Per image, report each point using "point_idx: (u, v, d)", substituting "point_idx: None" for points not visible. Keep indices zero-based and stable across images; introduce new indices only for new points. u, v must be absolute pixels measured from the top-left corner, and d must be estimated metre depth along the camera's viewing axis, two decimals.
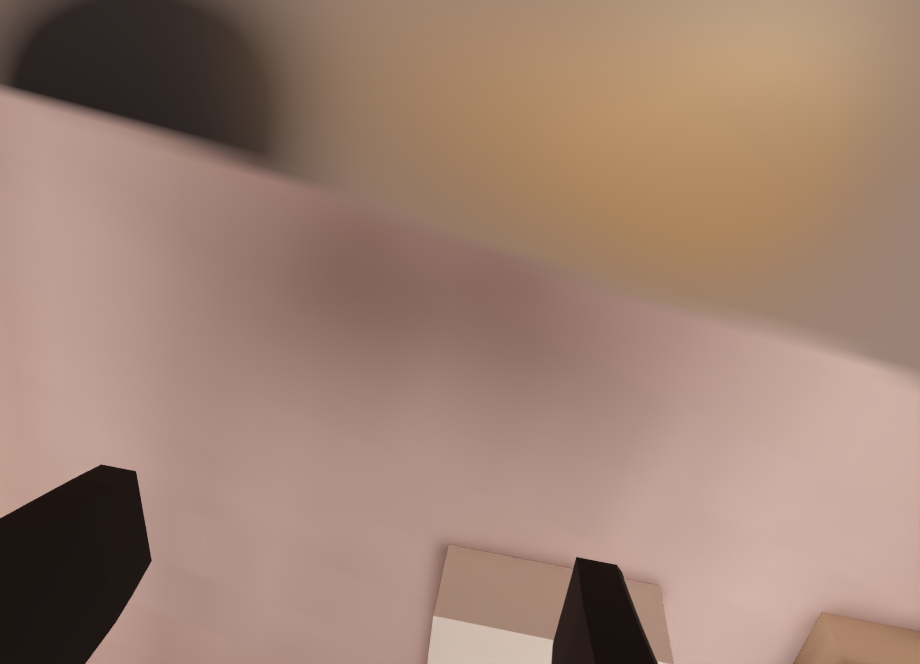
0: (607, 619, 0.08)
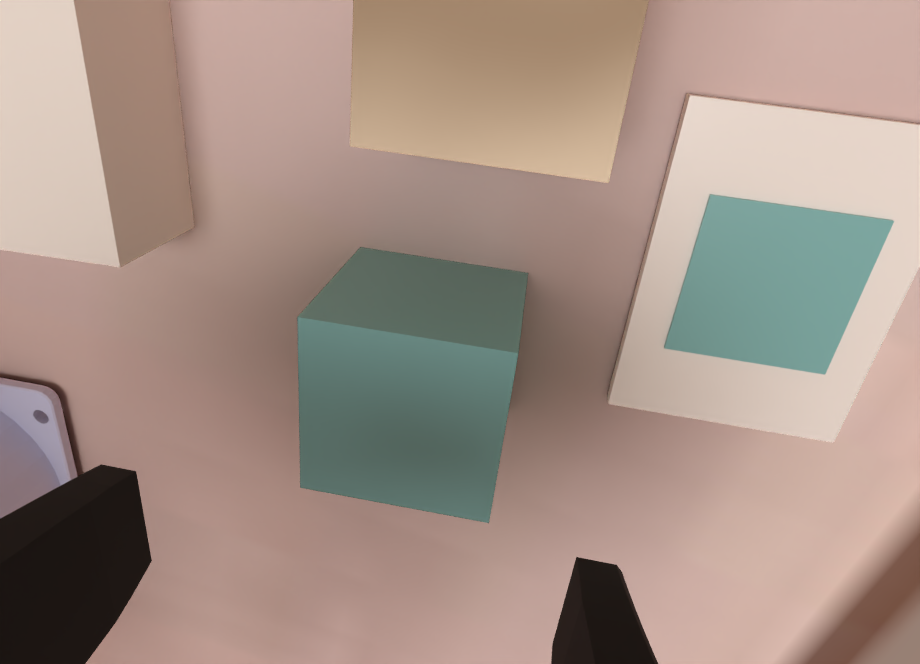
0: (607, 619, 0.08)
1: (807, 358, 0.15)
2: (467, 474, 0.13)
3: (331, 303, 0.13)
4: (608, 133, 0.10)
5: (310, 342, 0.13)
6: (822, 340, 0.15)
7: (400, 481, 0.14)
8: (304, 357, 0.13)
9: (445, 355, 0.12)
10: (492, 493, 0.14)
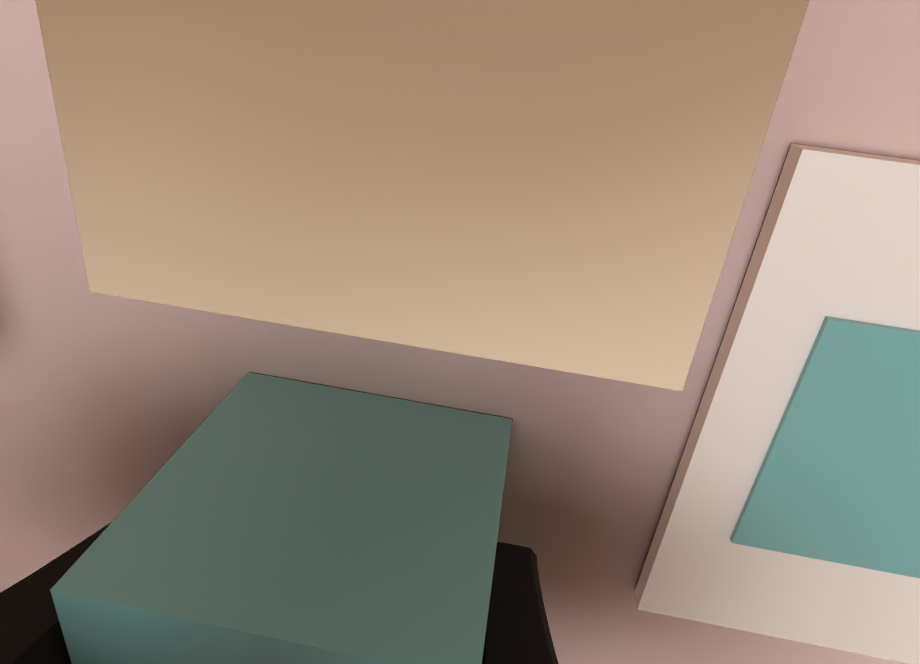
0: (508, 599, 0.08)
1: None
2: None
3: (137, 539, 0.07)
4: (688, 285, 0.04)
5: (83, 629, 0.07)
6: None
7: None
8: (78, 650, 0.07)
9: None
10: None
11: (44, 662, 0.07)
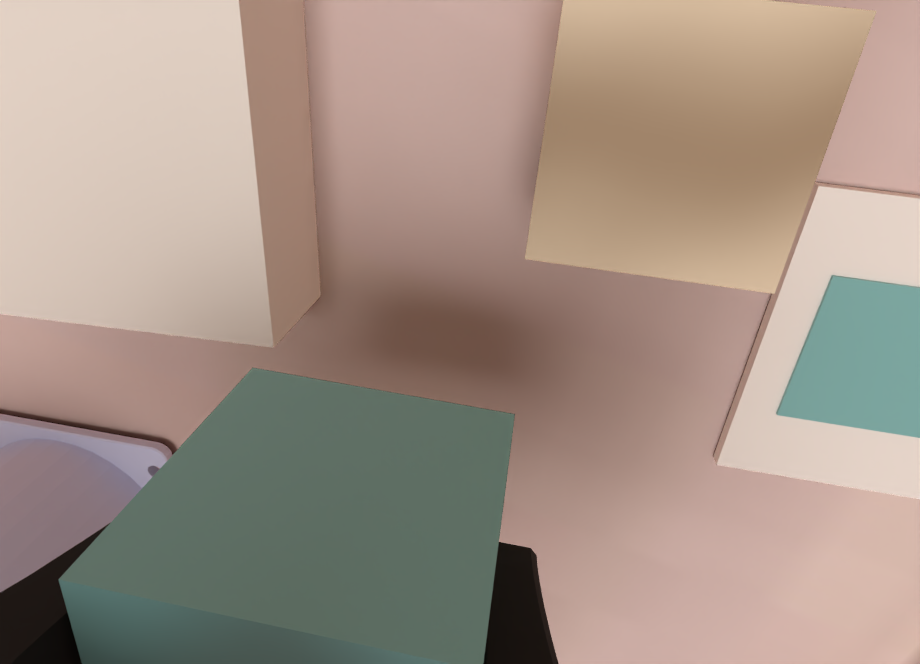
0: (508, 599, 0.08)
1: (918, 425, 0.16)
2: None
3: (144, 531, 0.07)
4: (778, 251, 0.11)
5: (91, 619, 0.07)
6: None
7: None
8: (85, 639, 0.07)
9: (340, 660, 0.06)
10: None
11: (44, 662, 0.07)
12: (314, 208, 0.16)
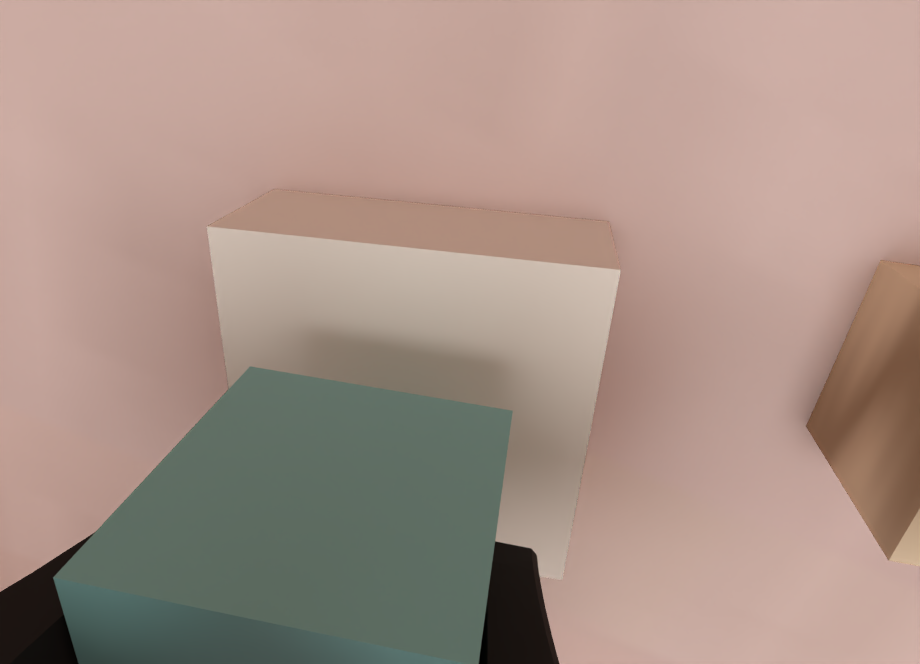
0: (509, 599, 0.08)
1: None
2: None
3: (140, 528, 0.07)
4: None
5: (86, 617, 0.07)
6: None
7: None
8: (81, 637, 0.07)
9: (335, 656, 0.06)
10: None
11: (43, 663, 0.07)
12: None
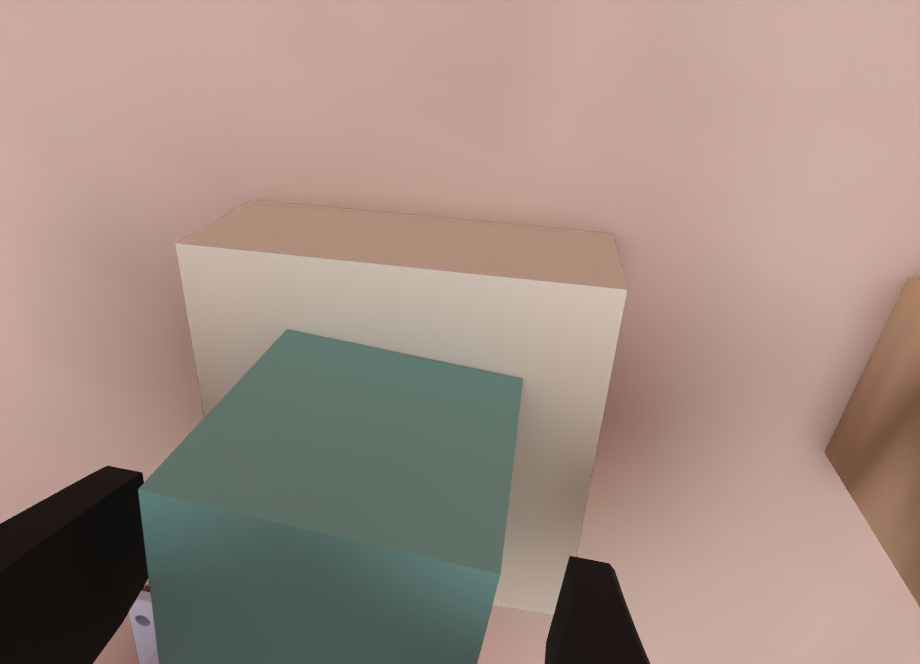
0: (599, 617, 0.08)
1: None
2: None
3: (207, 455, 0.08)
4: None
5: (162, 526, 0.08)
6: None
7: None
8: (154, 545, 0.08)
9: (378, 566, 0.07)
10: None
11: None
12: None
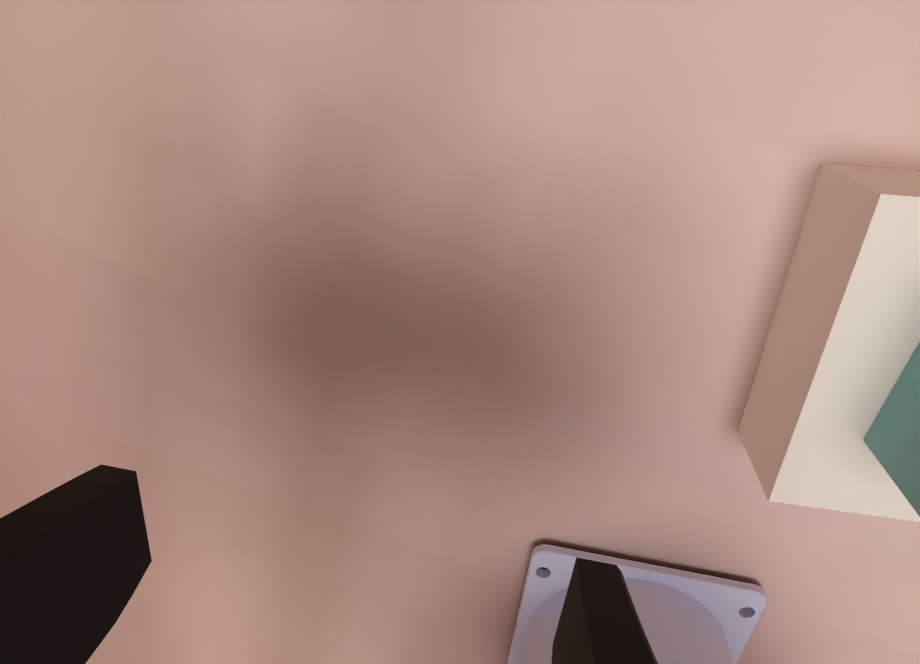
0: (607, 619, 0.08)
1: None
2: None
3: None
4: None
5: None
6: None
7: None
8: None
9: None
10: None
11: None
12: None
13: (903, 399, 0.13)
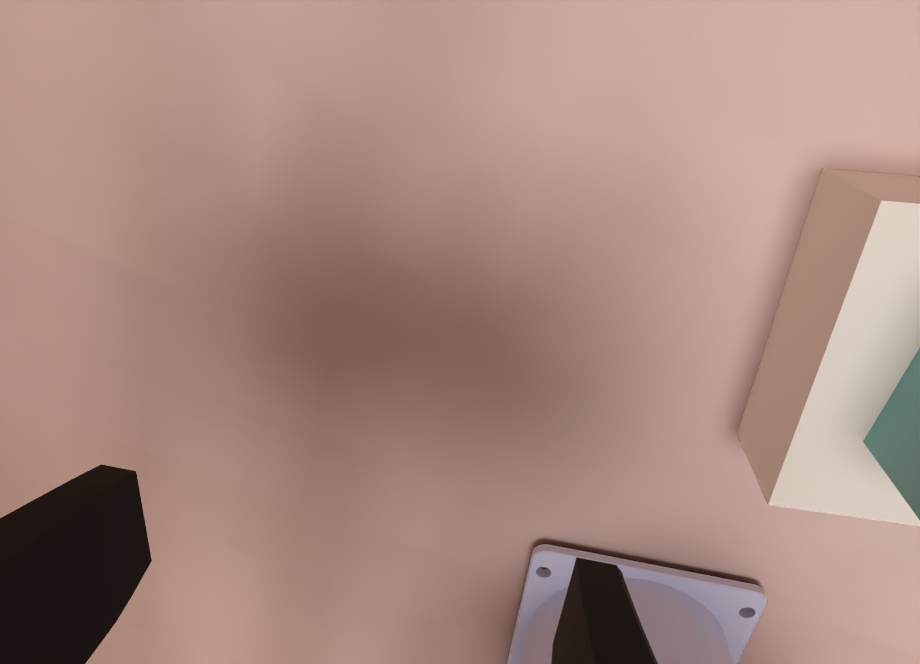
0: (607, 619, 0.08)
1: None
2: None
3: None
4: None
5: None
6: None
7: None
8: None
9: None
10: None
11: None
12: None
13: (904, 401, 0.13)
